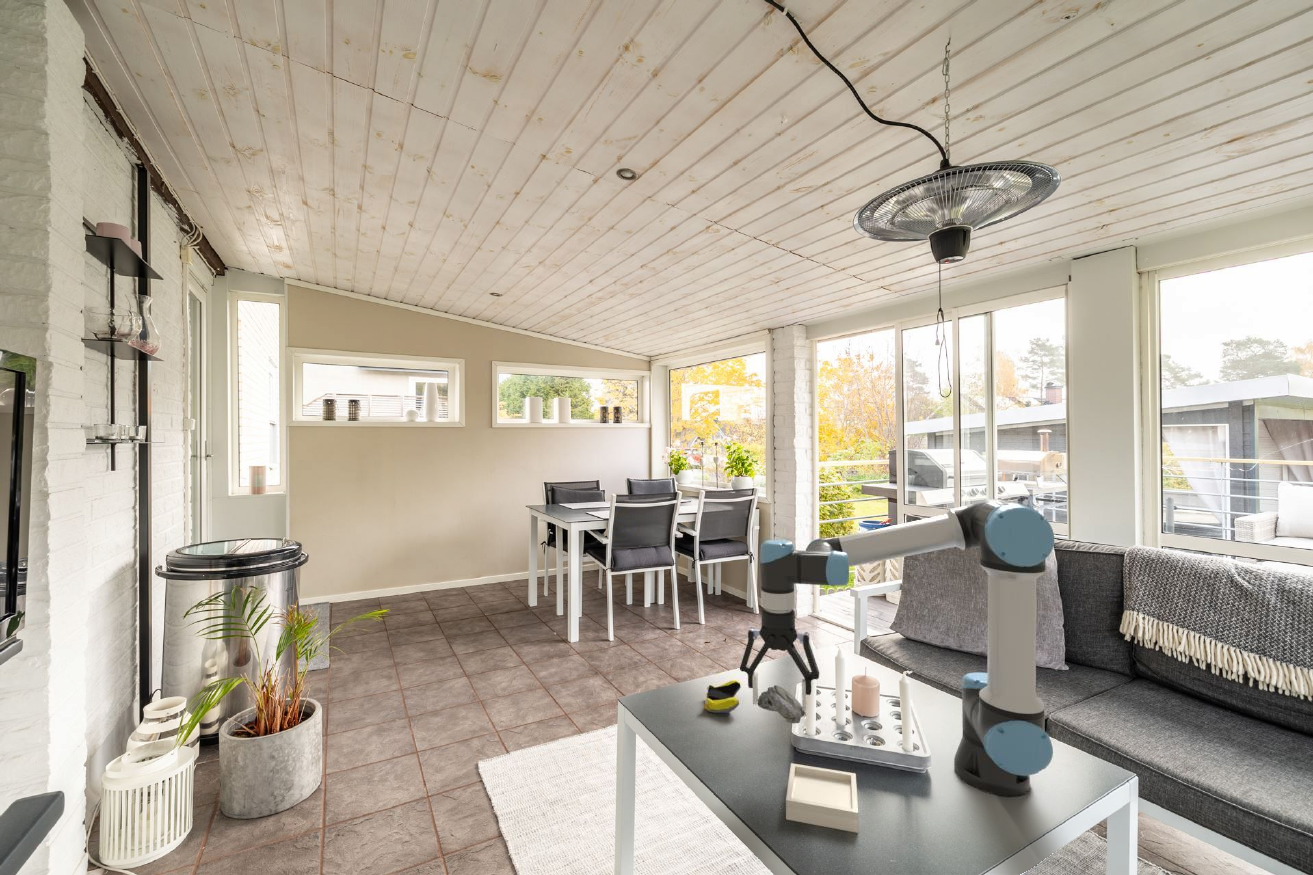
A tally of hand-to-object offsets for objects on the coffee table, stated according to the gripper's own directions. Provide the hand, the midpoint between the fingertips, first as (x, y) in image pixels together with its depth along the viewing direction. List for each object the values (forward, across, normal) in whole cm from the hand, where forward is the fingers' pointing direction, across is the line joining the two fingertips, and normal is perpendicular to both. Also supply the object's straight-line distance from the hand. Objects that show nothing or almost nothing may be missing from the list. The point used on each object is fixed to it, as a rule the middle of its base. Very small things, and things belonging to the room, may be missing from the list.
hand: (779, 704), depth 133 cm
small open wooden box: (+17, -9, +6) cm, 21 cm away
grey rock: (+2, 0, 0) cm, 2 cm away
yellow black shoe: (+17, +20, -32) cm, 41 cm away
